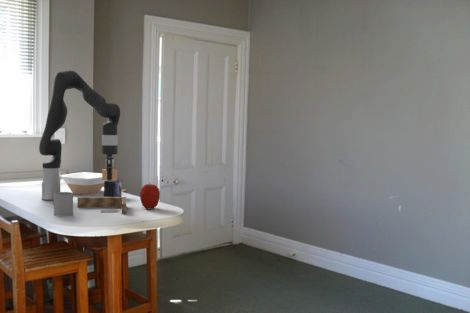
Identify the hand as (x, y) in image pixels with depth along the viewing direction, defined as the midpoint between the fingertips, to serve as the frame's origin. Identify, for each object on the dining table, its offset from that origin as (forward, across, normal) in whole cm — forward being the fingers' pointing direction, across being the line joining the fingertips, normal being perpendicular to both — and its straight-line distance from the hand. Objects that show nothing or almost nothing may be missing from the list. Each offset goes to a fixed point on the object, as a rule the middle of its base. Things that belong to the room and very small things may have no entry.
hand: (109, 179), depth 251 cm
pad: (+16, 0, 0) cm, 16 cm away
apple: (+16, +7, -20) cm, 26 cm away
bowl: (+15, +59, +17) cm, 63 cm away
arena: (+16, +3, +4) cm, 17 cm away
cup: (+16, -6, +21) cm, 27 cm away
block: (0, 0, 0) cm, 0 cm away
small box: (+16, +38, 0) cm, 41 cm away
